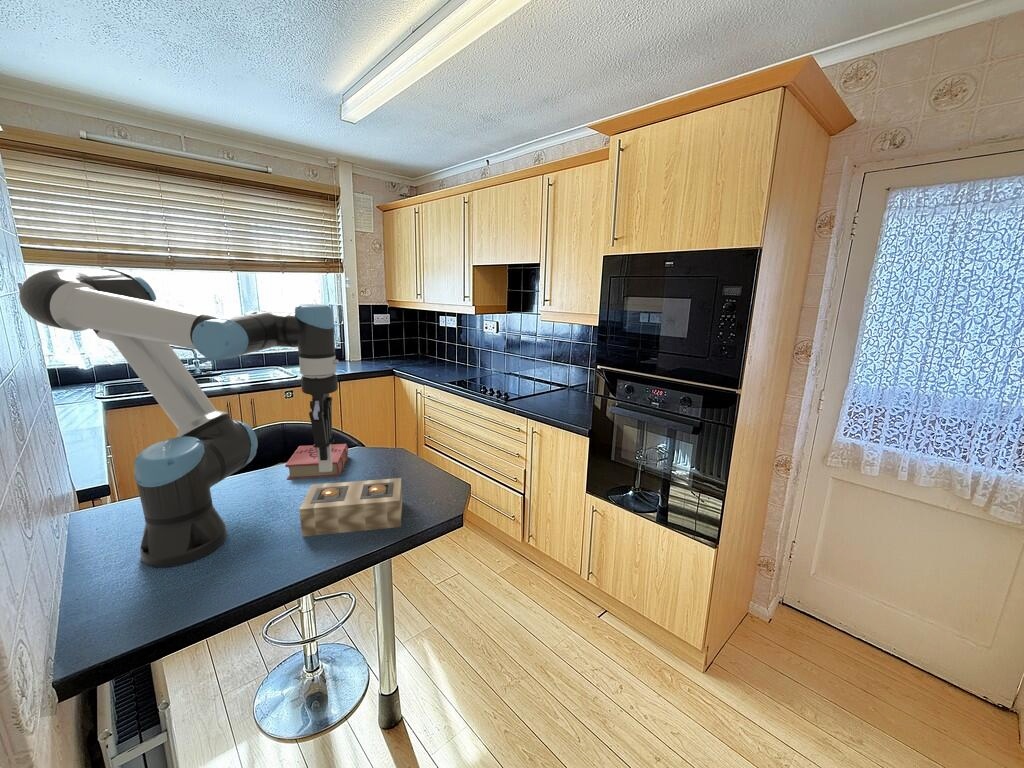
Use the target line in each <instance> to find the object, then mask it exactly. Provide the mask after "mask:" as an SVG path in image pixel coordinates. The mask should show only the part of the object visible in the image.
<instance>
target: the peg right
mask: <svg viewBox="0 0 1024 768" xmlns="http://www.w3.org/2000/svg"><path fill="white" fill-rule="evenodd" d="M384 494H386V487H385V486H384V485H374V486H372V487H370V488H369V496H372V495H384Z"/></svg>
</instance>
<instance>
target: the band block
mask: <svg viewBox="0 0 1024 768" xmlns="http://www.w3.org/2000/svg"><path fill="white" fill-rule="evenodd" d="M374 485H384V486H385V487H386V494H384V495H372V496H369V488H370V487H372V486H374ZM330 488H336V489H338V490H339V497H340V498H336V499H324V500H322V498H321V493H322V492H323V491H324V490H326V489H330ZM402 488H403V487H402V477H395V478H384V479H383V478H382V479H372V480H371V479H368V480H357V481H355V480H354V481H345V482H331V483H328V482H327V483H317V484H314V483H313V484H311V485H310V487H309V489H308V492H307V493H306V495H305V497H304V499H303V501H302V503H301V504H300V507H299V517H300V519H299V520H300V526H301V536H302V538H303V537H311V536H313V537H314V536H321V535H331V534H333V535H334V534H342V533H353V532H361V531H372V530H384V529H392V528H394V529H395V528H401V527H402V514H403V489H402Z"/></svg>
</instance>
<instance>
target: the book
mask: <svg viewBox="0 0 1024 768" xmlns="http://www.w3.org/2000/svg"><path fill="white" fill-rule="evenodd" d="M313 446H314V444H312V445H299V446H298V447H297V449H295V451H294V453H293V454H292V455H291V457H290V458H289V459H288V460H287V462H286V463H285V465H284V466H285V468H288V470H289V475H288V476H287V477H286V480H298V479H299V480H301V479H315V478H318V479H319V478H331V477H332V478H333V477H335V478H336V477H339V476H340V475H341V473H342V471H344V468H345V463H346V462H348V458H349V447H348V445H347V443H336V444H332V443H331V452H332V467H333V469H332V471H331V472H319V462H318V449H317V448H315V447H313Z"/></svg>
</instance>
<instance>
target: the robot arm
mask: <svg viewBox="0 0 1024 768" xmlns="http://www.w3.org/2000/svg"><path fill="white" fill-rule="evenodd" d="M18 298H19V302H20V304H21V305H20V306H21V307H22V308H23V310H24V311H25V312H26V314H27V315H28V316H29V317H31V318H32V319H33V320H35V321H37V322H38V323H40V324H44V325H46V326H48V327H53V328H57V329H63V330H68V331H73V332H82V331H86V330H92V331H94V333H95V335H96V336H97V337H98V338H99V339H103V340H106V341H111V342H112V343H113V345H114V346H115V347H116V349H117V350H118V351H119V353H120V354H121V355H122V357H123V358H124V360H126V362H127V363H128V365H129V366H130V367H131V368H132V369H133V371H134V373H135V374H136V376H137V377H138V378H139V380H140V381H141V382H142V383H143V385H144V386H145V387H146V388H147V390H148V391H149V392H150V394H151V395H152V397H153V398H154V399H155V401H156V402H157V403H158V405H159V406H160V408H162V410H163V411H164V413H165V414H166V415H167V417H168V418H169V420H170V421H171V422H172V423H173V425H174V426H175V427H176V429H177V434H176V437H172V438H169V439H167V440H161V441H158V442H156V443H153V444H151V445H149V446H148V447H145V449H143V450H141V452H139V453H138V454H137V456H136V457H135V458H134V461H133V462H134V463H133V464H134V479H135V482H136V486H137V490H138V494H139V498H140V503H141V506H142V513H143V516H144V521H145V524H144V525H145V526H144V530H143V533H142V539H141V544H140V547H139V549H140V550H139V551H140V552H139V553H140V557H141V561H142V562H143V563H144V565H147V566H149V567H152V568H168V567H175V566H180V565H183V564H188V563H191V562H193V561H196V560H198V559H201V558H203V557H206V556H207V555H209V554H211V553H212V552H214V551H216V550H217V549H218V548H220V547H221V546H222V544H223V543H225V541H226V539H227V536H228V532H227V525H226V523H225V522H224V520H223V519H222V517H221V515H220V514H219V513H218V511H217V509H216V508H215V507H214V504H213V499H212V493H211V488H212V487H214V486H215V485H217V484H218V483H221V481H223V480H225V479H226V478H229V476H231V475H233V474H234V473H236V472H239V471H240V470H242V469H243V468H245V467H246V466H247V465H248V464H249V463H251V462H252V461H253V459H254V458H255V457H256V455H257V449H258V446H259V445H258V437H257V434H256V433H255V431H254V430H253V428H252V427H251V426H250V425H249V424H248V423H246V422H242V421H241V420H235V419H234V420H233V418H232V417H231V416H230V414H229V413H228V412H226V411H222V410H218V409H216V407H215V406H214V405H213V403H212V402H211V401H210V399H209V398H208V396H207V395H206V393H205V392H204V390H202V388H201V387H200V385H199V384H198V383H197V381H196V379H195V378H194V377H193V376H192V374H191V373H190V371H189V370H188V369H187V367H186V366H185V364H184V363H183V362H182V360H181V358H179V356H178V355H177V353H176V352H175V350H174V349H173V348H172V347H171V345H172V346H176V347H180V348H186V349H191V350H196V351H197V352H198V353H199V354H201V355H202V356H203V357H204V358H206V359H209V360H212V361H221V360H232V359H234V358H237V357H240V356H243V355H247V354H251V353H255V352H258V351H263V350H267V349H270V348H275V347H276V348H278V347H279V348H280V347H281V348H282V347H283V348H297V351H298V360H299V361H298V363H299V373H300V374H301V376H300V384H301V392H302V393H304V394H306V395H311V400H310V401H309V408H310V411H309V412H308V416H309V418H310V419H309V420H310V423H311V424H310V425H311V429H312V436H313V442H314V444H313V445H314V446H313V447H315V448H317V449H318V462H319V472H331V471H332V469H333V467H332V452H331V445H332V443H335V438H332V437H333V414H332V413H333V411H332V407H333V405H332V404H333V398H332V396H330V394H333V393H335V392H337V391H338V389H339V384H338V375H337V364H339V363H340V362H339V359H336V357H337V356H336V344H335V343H336V342H335V341H336V340H335V327H336V326H335V322H334V313H333V309H332V308H331V307H330V306H329V305H326V304H316V303H315V304H309V303H307V304H304V303H303V304H297V305H296V306H295V308H294V312H290V313H289V312H275V311H274V312H273V311H266V310H259V311H255V310H254V311H248V312H245V313H244V314H243V315H236V316H227V315H222V314H217V313H216V314H215V313H211V312H206V311H201V310H196V309H192V308H188V307H187V308H186V307H182V306H176V305H172V304H165V303H162V302H161V303H160V302H155V301H156V300H157V297H156V294H155V291H154V290H153V288H152V286H150V284H149V283H148V282H147V281H146V280H145V279H144V278H143V277H141V276H139V275H137V274H135V273H133V272H130V271H125V270H119V269H118V270H117V269H111V268H104V269H61V268H57V269H56V268H52V269H48V270H46V269H45V270H43V271H38V272H37V273H34V274H33V275H30V276H29V277H27V279H26V280H25V281H24V282H23V284H22V285H21V286H20V290H19V296H18Z"/></svg>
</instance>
